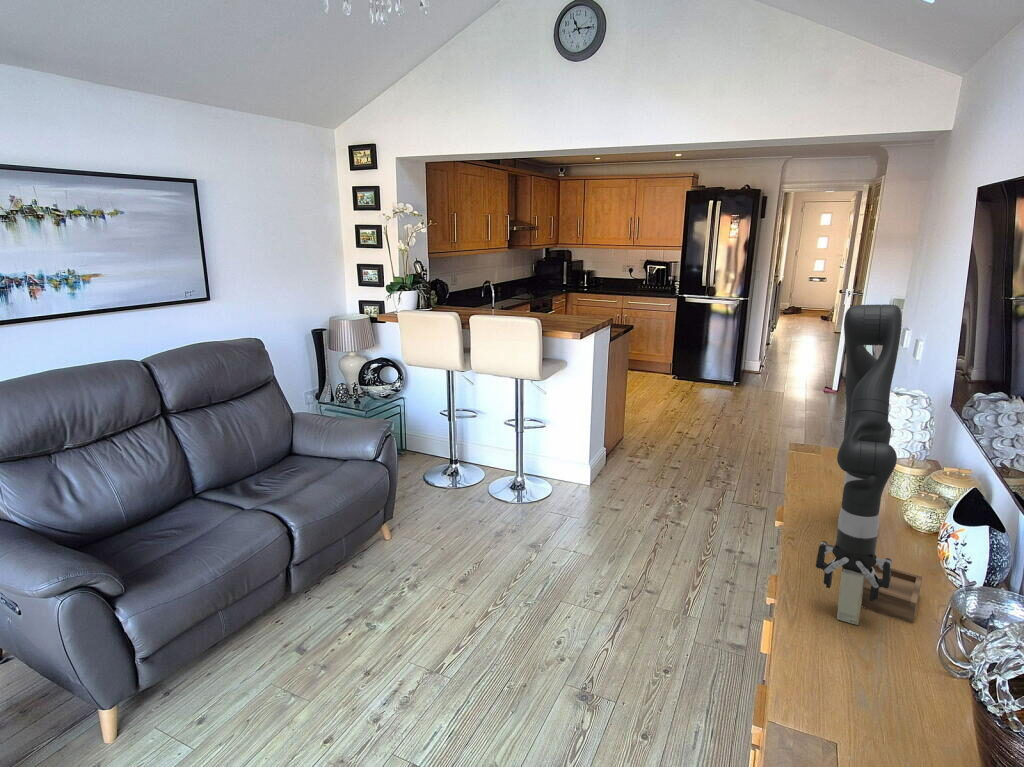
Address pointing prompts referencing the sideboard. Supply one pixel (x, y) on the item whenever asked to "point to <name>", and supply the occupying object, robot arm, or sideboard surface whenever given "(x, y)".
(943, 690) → the sideboard surface
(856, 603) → the skincare box
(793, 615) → the sideboard surface
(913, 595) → the brown wooden tray
